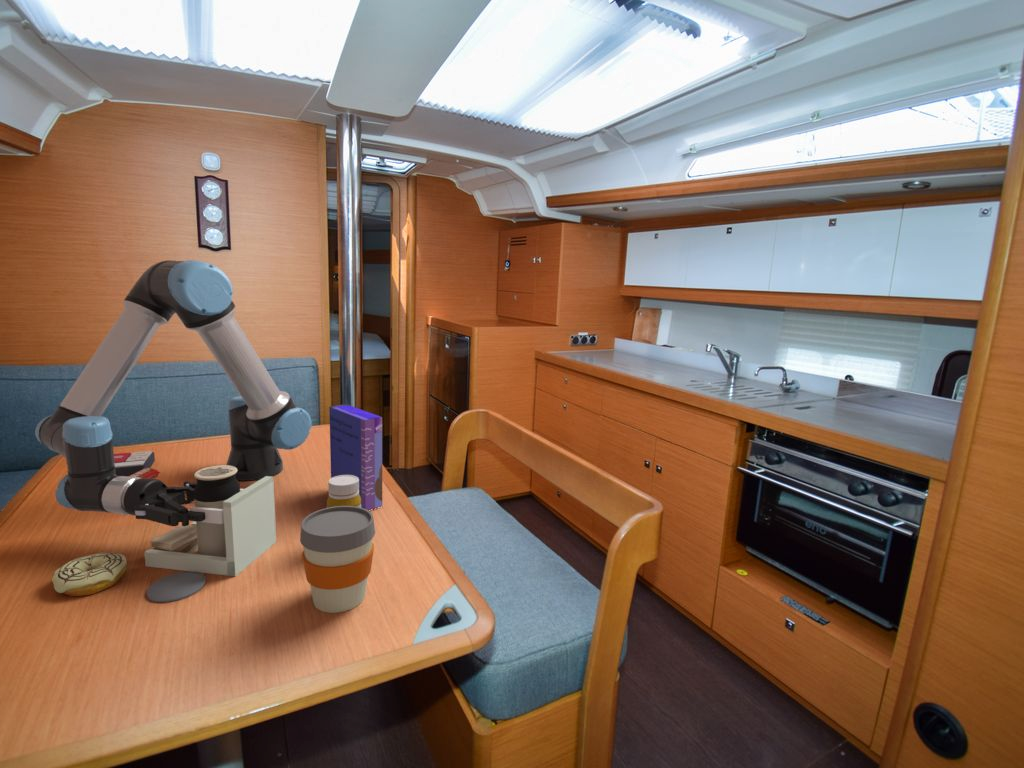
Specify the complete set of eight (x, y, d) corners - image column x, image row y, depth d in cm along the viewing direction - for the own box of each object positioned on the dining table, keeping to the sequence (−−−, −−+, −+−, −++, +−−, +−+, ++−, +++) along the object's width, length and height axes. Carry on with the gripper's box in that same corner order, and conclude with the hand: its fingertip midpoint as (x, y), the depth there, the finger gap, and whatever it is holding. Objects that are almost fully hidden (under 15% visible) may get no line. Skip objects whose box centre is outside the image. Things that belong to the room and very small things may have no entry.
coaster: (199, 568, 99) (199, 566, 99) (211, 589, 92) (211, 587, 92) (142, 585, 93) (142, 583, 93) (151, 609, 86) (151, 606, 86)
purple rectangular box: (382, 507, 130) (382, 416, 125) (365, 512, 126) (364, 419, 122) (347, 487, 141) (346, 403, 137) (331, 491, 138) (329, 405, 134)
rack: (145, 566, 99) (138, 493, 96) (196, 533, 112) (191, 469, 109) (235, 576, 97) (230, 502, 94) (276, 542, 110) (273, 476, 107)
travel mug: (230, 565, 100) (224, 479, 97) (190, 563, 100) (183, 477, 97) (250, 545, 108) (246, 465, 105) (213, 544, 108) (208, 463, 105)
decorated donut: (48, 607, 86) (45, 586, 85) (59, 576, 95) (57, 557, 94) (125, 589, 92) (123, 570, 91) (129, 561, 101) (127, 543, 100)
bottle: (368, 541, 112) (367, 477, 110) (348, 556, 106) (347, 488, 103) (341, 535, 114) (340, 472, 112) (320, 549, 108) (318, 482, 105)
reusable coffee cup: (355, 624, 85) (354, 541, 82) (287, 613, 87) (283, 532, 84) (386, 583, 97) (386, 509, 94) (326, 574, 99) (324, 501, 96)
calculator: (154, 449, 155) (144, 462, 142) (155, 462, 156) (145, 477, 143) (109, 453, 151) (94, 467, 137) (110, 467, 151) (96, 482, 138)
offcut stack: (147, 560, 101) (145, 543, 100) (185, 536, 111) (184, 520, 110) (178, 564, 100) (177, 546, 99) (214, 539, 110) (212, 523, 109)
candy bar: (120, 498, 129) (119, 487, 128) (105, 497, 129) (104, 486, 128) (162, 475, 145) (161, 465, 144) (149, 474, 145) (148, 464, 144)
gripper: (178, 493, 116) (271, 501, 113) (89, 538, 94) (201, 550, 92) (176, 461, 114) (270, 469, 112) (85, 500, 93) (198, 511, 91)
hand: (239, 506), depth 102 cm, fingers open, 9 cm apart
